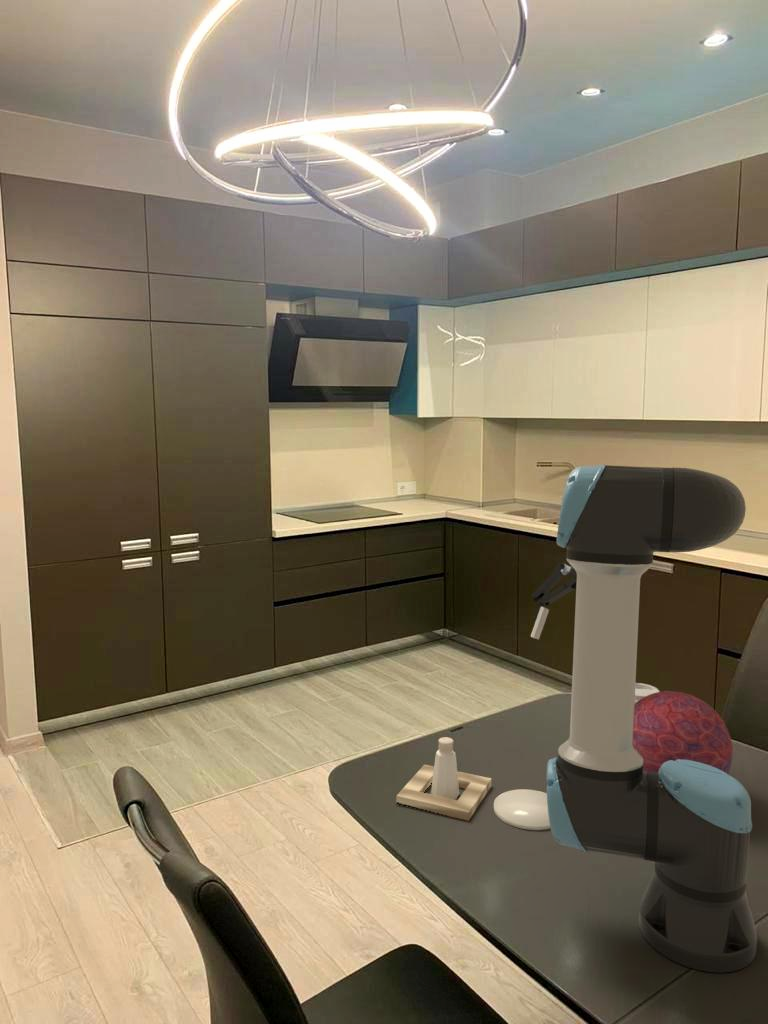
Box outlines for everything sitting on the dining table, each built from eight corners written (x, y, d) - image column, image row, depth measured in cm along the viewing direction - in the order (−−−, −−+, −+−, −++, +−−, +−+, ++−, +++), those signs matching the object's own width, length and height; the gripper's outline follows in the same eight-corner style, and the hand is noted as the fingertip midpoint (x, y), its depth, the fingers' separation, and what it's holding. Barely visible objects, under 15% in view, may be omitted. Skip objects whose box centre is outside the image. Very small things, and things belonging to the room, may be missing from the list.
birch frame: (468, 820, 135) (468, 812, 135) (396, 803, 141) (396, 795, 140) (491, 786, 148) (491, 778, 147) (424, 771, 153) (424, 764, 153)
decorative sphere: (729, 783, 149) (736, 685, 147) (728, 834, 131) (735, 723, 129) (623, 763, 157) (628, 670, 155) (608, 808, 139) (613, 703, 137)
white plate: (558, 837, 130) (558, 832, 130) (484, 820, 135) (484, 815, 135) (572, 802, 142) (572, 798, 141) (504, 787, 147) (504, 783, 147)
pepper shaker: (424, 795, 144) (425, 739, 143) (442, 785, 148) (443, 731, 146) (447, 805, 140) (448, 748, 139) (465, 794, 144) (466, 739, 143)
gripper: (665, 570, 148) (630, 674, 146) (551, 537, 163) (518, 631, 161) (655, 562, 142) (618, 670, 140) (537, 529, 157) (502, 626, 155)
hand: (564, 649), depth 151 cm, fingers open, 13 cm apart
